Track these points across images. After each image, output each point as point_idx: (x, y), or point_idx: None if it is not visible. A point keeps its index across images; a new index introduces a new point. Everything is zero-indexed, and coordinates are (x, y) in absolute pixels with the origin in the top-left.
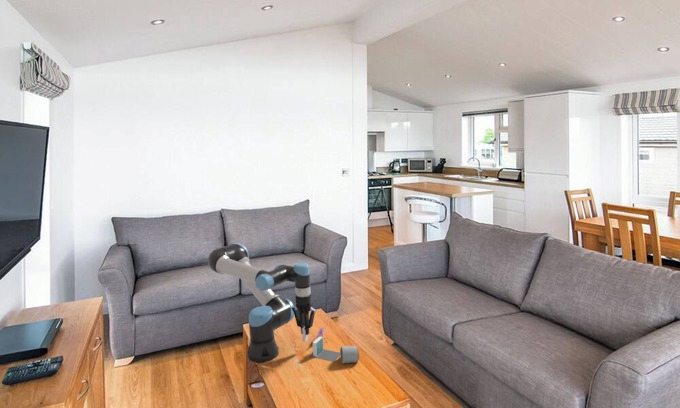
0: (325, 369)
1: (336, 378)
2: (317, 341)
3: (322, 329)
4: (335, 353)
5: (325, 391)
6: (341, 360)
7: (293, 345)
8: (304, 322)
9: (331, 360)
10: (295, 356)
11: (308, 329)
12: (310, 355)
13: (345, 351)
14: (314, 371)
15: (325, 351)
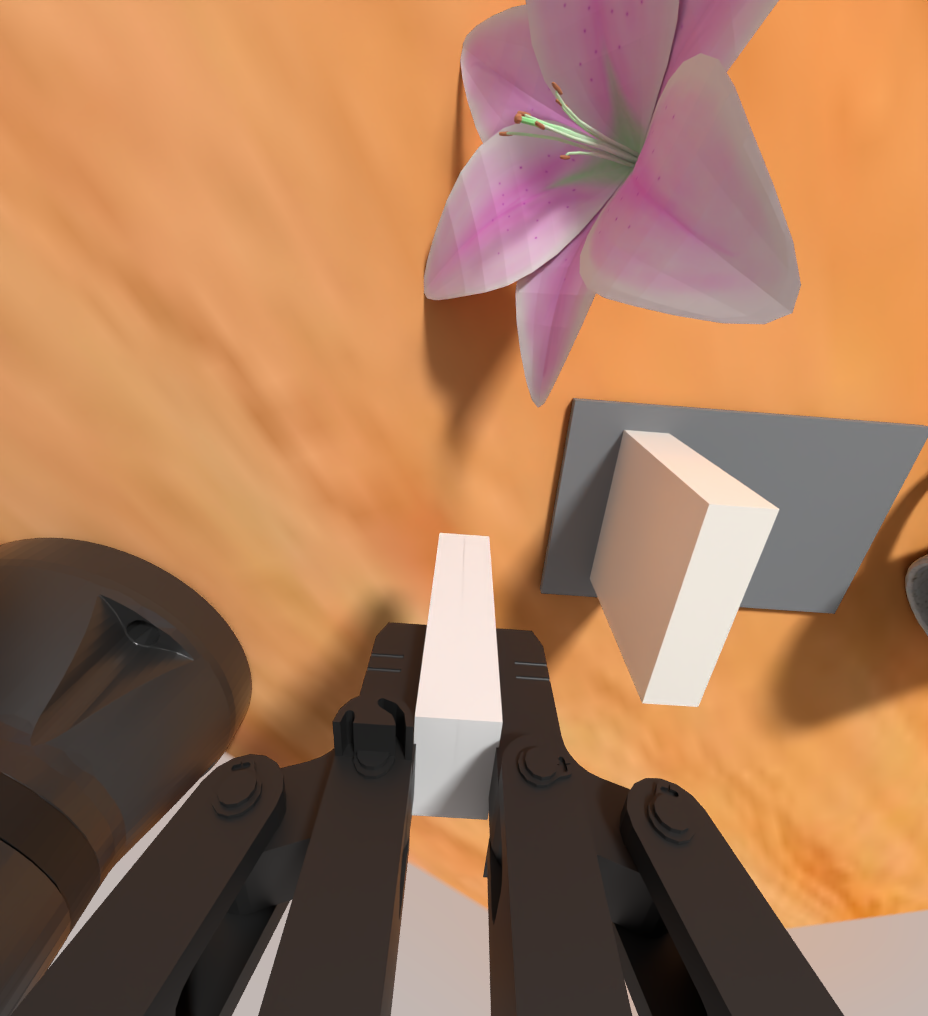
0: (755, 709)
1: (859, 776)
2: (710, 661)
3: (697, 86)
4: (838, 462)
5: (792, 874)
6: (914, 577)
7: (233, 404)
8: (397, 891)
9: (802, 601)
10: (405, 608)
11: (552, 739)
12: (554, 574)
13: None
14: (669, 747)
15: (702, 452)
